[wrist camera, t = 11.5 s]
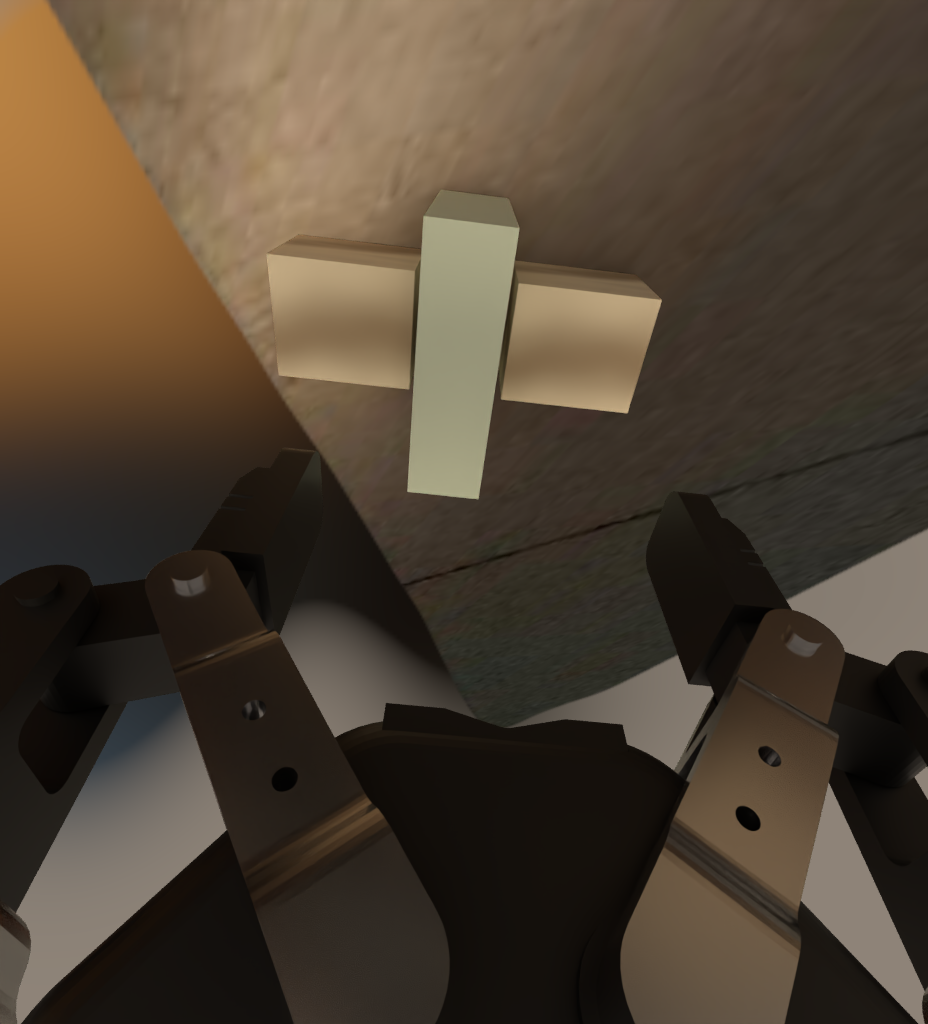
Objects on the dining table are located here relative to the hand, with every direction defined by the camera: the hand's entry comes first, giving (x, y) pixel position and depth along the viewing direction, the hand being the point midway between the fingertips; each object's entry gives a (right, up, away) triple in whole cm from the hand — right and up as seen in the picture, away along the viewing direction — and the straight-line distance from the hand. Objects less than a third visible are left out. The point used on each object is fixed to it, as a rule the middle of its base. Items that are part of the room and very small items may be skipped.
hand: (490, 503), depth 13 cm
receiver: (-1, +12, +19) cm, 23 cm away
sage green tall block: (-1, +11, +19) cm, 22 cm away
